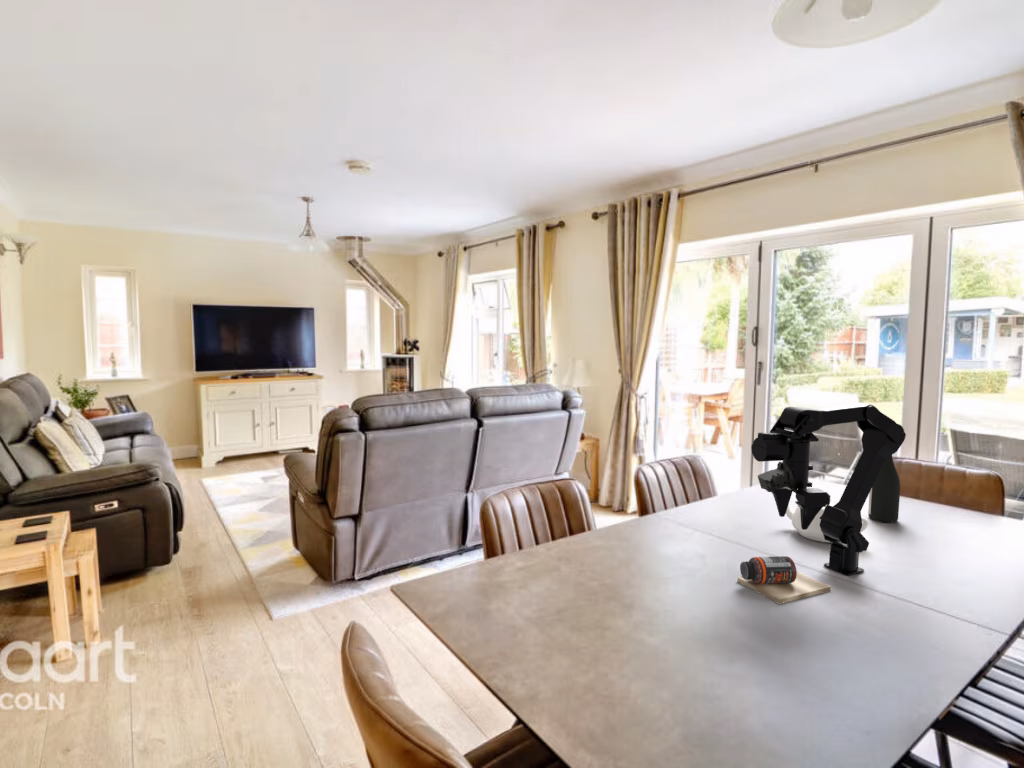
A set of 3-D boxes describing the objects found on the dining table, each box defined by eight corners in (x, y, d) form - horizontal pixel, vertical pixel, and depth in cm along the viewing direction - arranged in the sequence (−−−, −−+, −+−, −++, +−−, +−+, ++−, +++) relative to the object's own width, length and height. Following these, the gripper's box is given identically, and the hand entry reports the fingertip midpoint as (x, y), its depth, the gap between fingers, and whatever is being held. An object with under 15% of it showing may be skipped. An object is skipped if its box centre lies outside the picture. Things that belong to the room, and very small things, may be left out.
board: (786, 570, 138) (786, 566, 138) (830, 590, 127) (830, 586, 127) (737, 581, 132) (737, 577, 131) (779, 603, 121) (779, 599, 120)
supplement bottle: (795, 588, 127) (747, 590, 127) (782, 571, 133) (736, 572, 132) (800, 567, 125) (751, 569, 125) (786, 550, 131) (739, 552, 130)
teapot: (875, 542, 157) (878, 499, 156) (855, 555, 147) (858, 510, 146) (786, 519, 176) (788, 481, 175) (763, 529, 166) (765, 489, 165)
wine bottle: (862, 517, 178) (867, 425, 175) (877, 514, 181) (883, 423, 179) (888, 525, 171) (894, 429, 168) (903, 521, 174) (910, 427, 172)
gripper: (744, 452, 142) (741, 511, 143) (786, 469, 123) (783, 537, 124) (785, 451, 143) (782, 510, 144) (833, 468, 124) (829, 536, 125)
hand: (792, 522), depth 134 cm, fingers open, 9 cm apart
